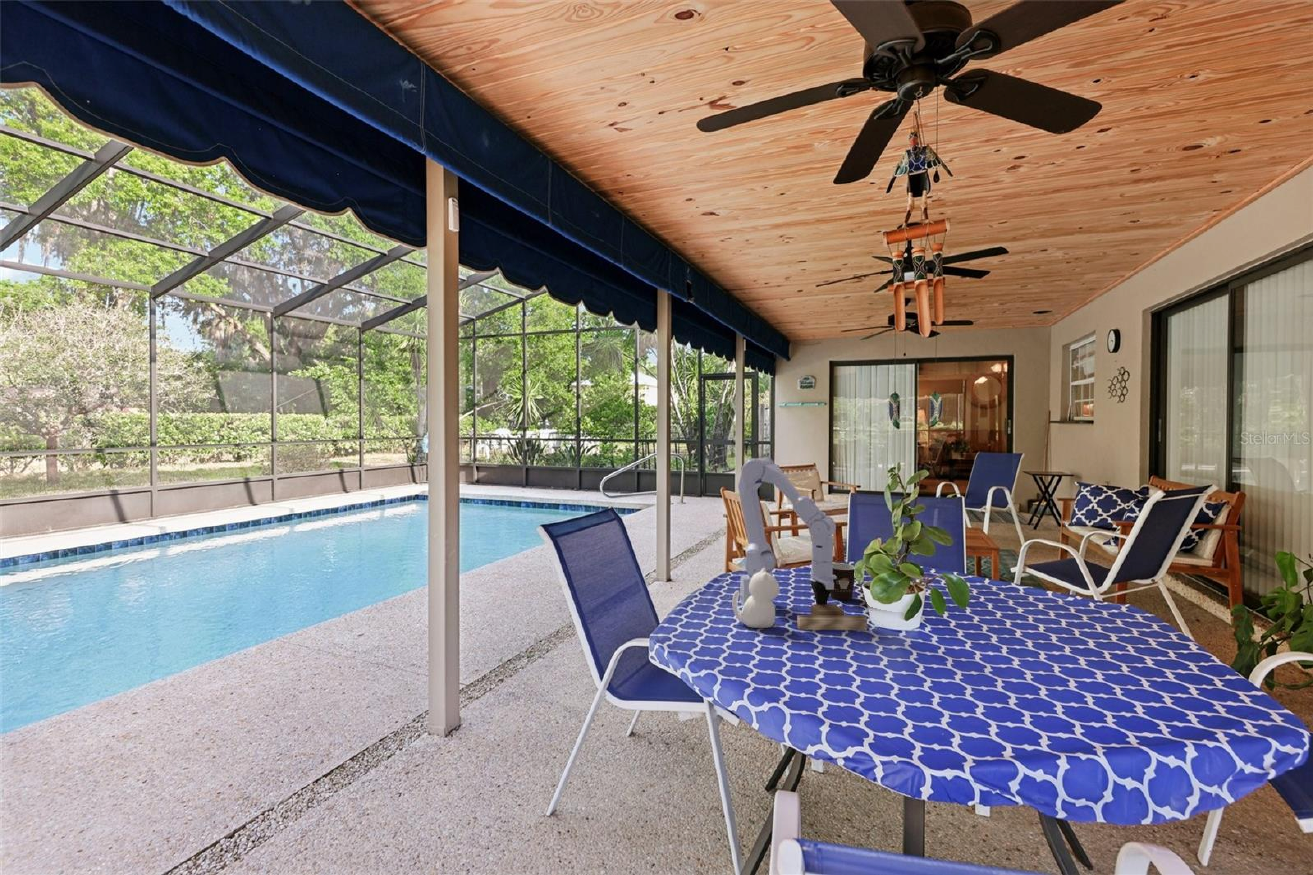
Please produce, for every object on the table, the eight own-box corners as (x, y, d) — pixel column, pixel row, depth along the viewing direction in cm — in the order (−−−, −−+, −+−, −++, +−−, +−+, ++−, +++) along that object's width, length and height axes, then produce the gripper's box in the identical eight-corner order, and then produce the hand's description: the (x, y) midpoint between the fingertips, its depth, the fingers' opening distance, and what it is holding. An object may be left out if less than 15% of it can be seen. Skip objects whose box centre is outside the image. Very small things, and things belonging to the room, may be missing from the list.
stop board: (799, 629, 155) (799, 617, 154) (797, 626, 157) (797, 614, 157) (867, 630, 155) (867, 617, 155) (863, 626, 158) (863, 614, 158)
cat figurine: (780, 632, 153) (782, 575, 152) (731, 629, 154) (733, 572, 154) (776, 621, 162) (778, 567, 161) (731, 618, 163) (733, 564, 163)
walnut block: (819, 626, 158) (819, 611, 158) (810, 619, 164) (810, 604, 164) (843, 625, 159) (844, 610, 159) (834, 618, 165) (834, 604, 165)
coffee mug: (858, 596, 186) (859, 565, 185) (851, 603, 178) (852, 571, 178) (821, 591, 192) (822, 560, 192) (813, 597, 184) (814, 565, 184)
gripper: (845, 566, 158) (844, 616, 158) (827, 554, 172) (826, 600, 173) (819, 566, 158) (818, 616, 158) (804, 554, 172) (803, 600, 172)
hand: (821, 608), depth 165 cm, fingers closed
